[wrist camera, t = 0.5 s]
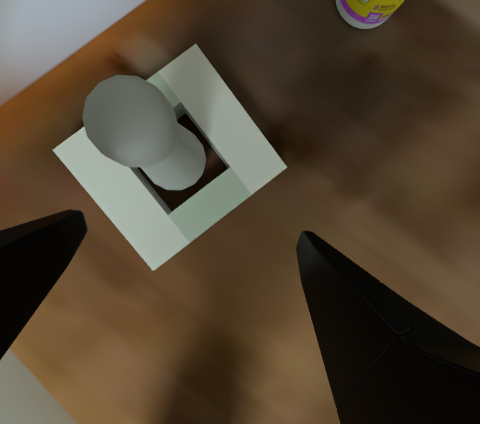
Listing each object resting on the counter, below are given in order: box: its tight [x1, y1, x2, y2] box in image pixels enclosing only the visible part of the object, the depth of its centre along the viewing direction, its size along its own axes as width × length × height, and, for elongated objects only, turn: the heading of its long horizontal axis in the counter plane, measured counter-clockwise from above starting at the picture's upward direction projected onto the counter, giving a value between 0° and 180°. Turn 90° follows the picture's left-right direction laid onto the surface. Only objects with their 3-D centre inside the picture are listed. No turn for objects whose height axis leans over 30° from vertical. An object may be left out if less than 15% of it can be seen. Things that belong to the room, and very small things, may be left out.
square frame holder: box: [53, 44, 287, 271], centre depth 22 cm, size 16×14×2 cm
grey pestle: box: [82, 75, 206, 190], centre depth 16 cm, size 6×6×13 cm
